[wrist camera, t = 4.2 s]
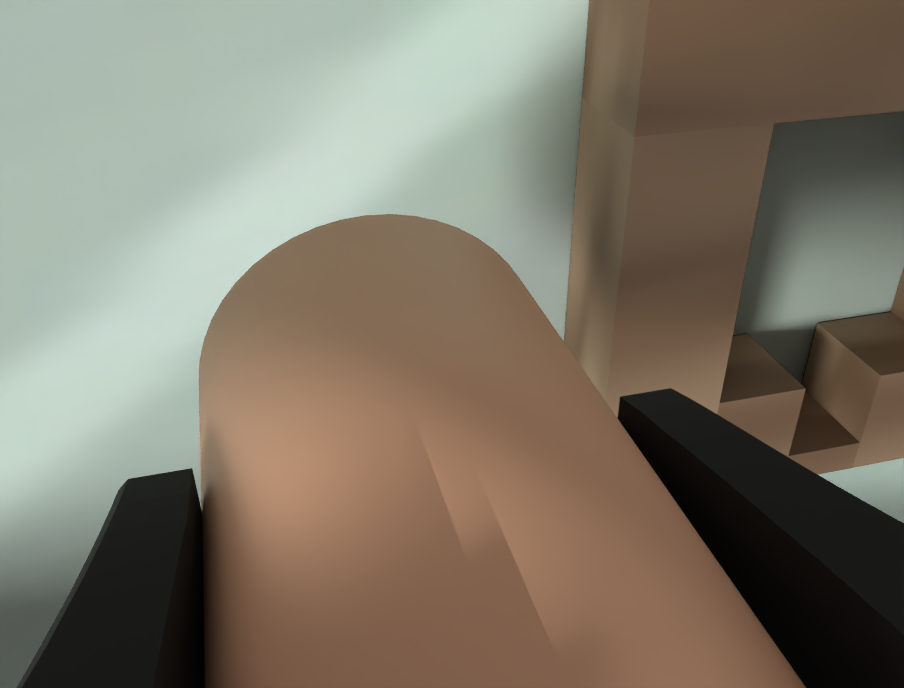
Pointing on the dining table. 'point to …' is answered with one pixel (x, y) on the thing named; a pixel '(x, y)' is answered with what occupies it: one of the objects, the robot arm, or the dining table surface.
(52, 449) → the dining table surface
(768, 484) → the robot arm
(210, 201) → the dining table surface
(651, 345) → the keyhole board
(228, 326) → the terracotta peg
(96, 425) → the dining table surface
